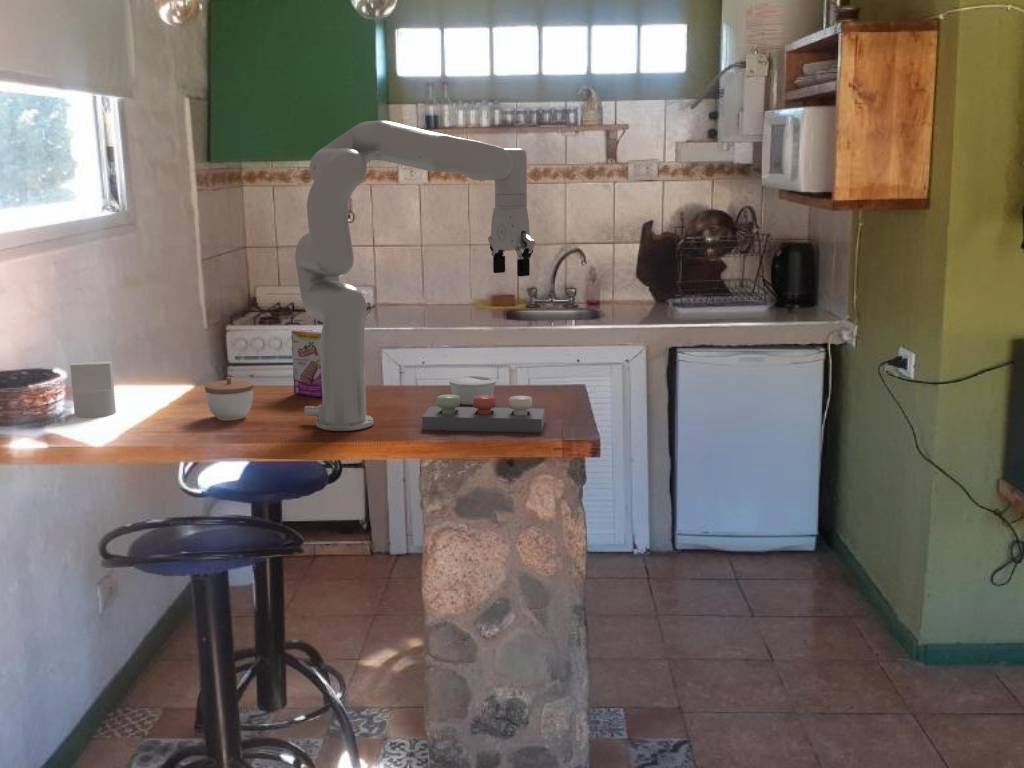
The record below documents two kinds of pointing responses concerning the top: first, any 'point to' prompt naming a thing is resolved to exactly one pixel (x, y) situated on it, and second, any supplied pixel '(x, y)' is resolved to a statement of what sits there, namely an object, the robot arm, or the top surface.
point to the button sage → (448, 403)
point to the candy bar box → (307, 362)
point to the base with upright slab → (93, 389)
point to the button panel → (484, 420)
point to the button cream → (520, 404)
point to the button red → (484, 404)
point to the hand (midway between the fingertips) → (511, 274)
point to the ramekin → (471, 387)
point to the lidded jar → (229, 398)
